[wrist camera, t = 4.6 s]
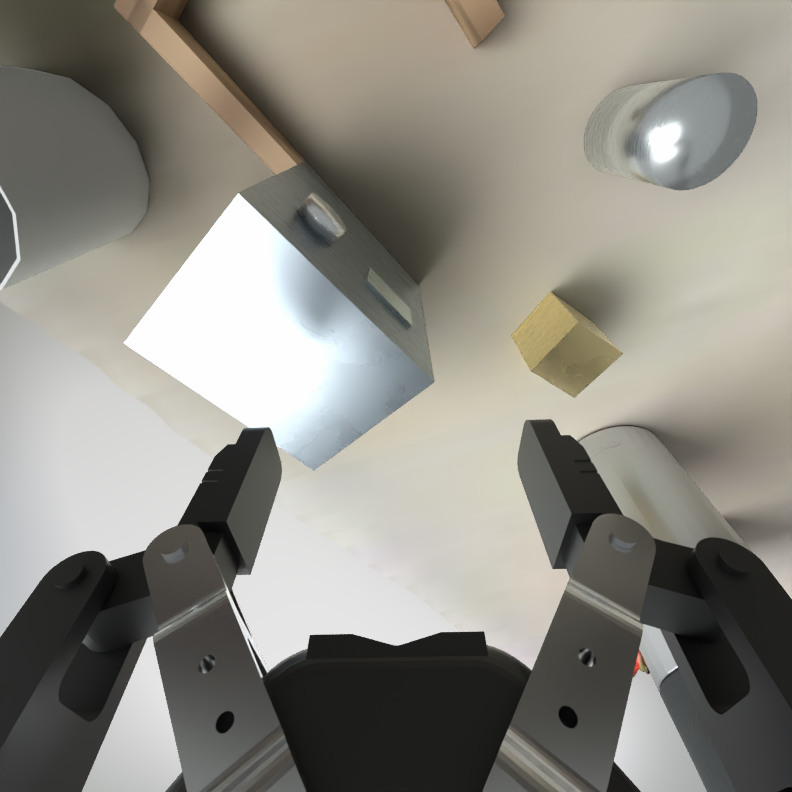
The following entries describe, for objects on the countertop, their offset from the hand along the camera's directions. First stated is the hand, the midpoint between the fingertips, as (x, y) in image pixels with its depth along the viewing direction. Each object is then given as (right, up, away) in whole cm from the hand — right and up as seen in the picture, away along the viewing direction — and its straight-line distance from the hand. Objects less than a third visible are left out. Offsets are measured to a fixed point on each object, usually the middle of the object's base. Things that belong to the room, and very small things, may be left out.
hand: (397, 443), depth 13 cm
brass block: (+11, +7, +16) cm, 21 cm away
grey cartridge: (+13, +16, +9) cm, 23 cm away
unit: (-5, +10, +14) cm, 17 cm away
